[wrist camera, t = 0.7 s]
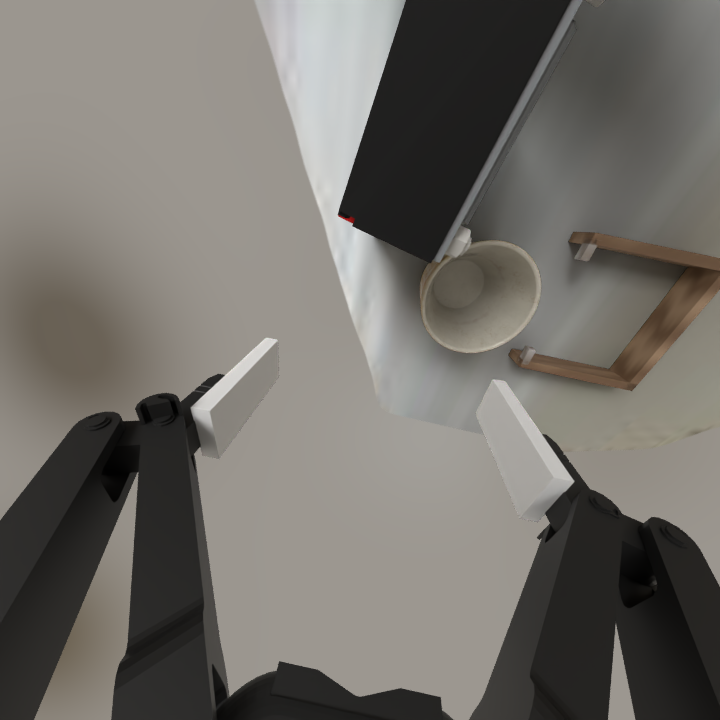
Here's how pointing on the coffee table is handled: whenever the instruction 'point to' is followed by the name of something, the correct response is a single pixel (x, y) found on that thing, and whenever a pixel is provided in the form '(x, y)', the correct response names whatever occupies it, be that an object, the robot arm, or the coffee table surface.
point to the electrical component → (450, 115)
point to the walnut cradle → (661, 325)
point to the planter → (479, 296)
